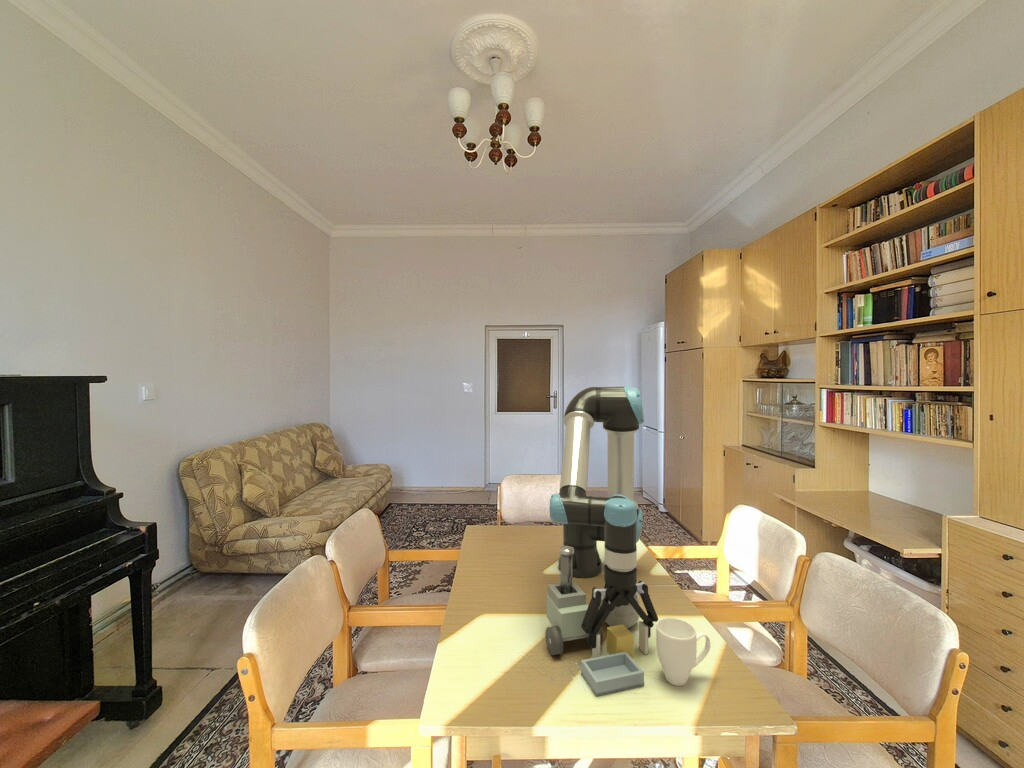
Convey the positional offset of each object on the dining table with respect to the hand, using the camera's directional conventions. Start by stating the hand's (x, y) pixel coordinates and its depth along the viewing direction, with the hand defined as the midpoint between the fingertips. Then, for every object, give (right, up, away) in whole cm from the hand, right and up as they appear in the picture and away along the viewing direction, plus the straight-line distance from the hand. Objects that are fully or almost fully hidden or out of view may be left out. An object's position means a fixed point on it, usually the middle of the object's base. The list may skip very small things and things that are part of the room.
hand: (620, 655), depth 104 cm
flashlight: (-12, +10, +7) cm, 17 cm away
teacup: (+5, 0, +15) cm, 16 cm away
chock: (0, 0, 0) cm, 0 cm away
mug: (+12, 0, -8) cm, 14 cm away
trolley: (-12, 0, +6) cm, 13 cm away
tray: (-4, 0, -8) cm, 9 cm away
